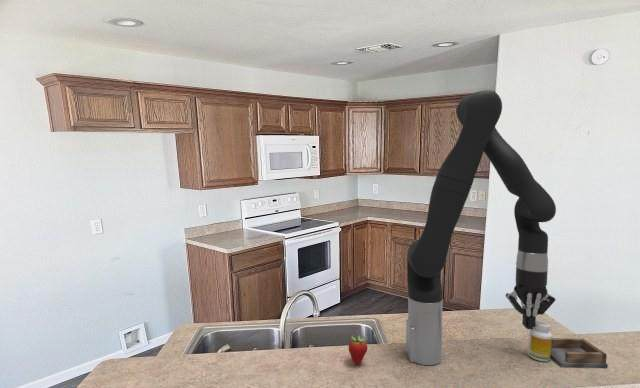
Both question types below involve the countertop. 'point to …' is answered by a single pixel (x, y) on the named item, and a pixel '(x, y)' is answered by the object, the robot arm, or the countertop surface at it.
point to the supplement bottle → (540, 341)
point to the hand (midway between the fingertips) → (528, 328)
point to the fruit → (357, 349)
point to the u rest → (577, 353)
